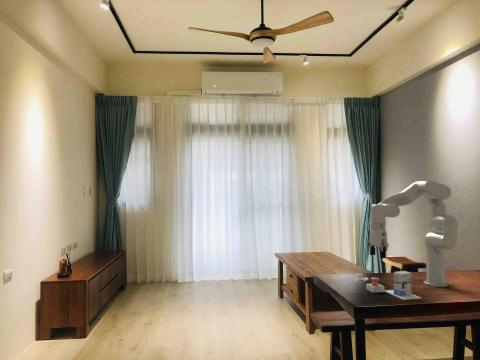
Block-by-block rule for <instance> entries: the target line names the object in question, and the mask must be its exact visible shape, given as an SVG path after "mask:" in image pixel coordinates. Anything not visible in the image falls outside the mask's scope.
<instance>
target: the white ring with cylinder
mask: <svg viewBox="0 0 480 360" xmlns="http://www.w3.org/2000/svg"><path fill="white" fill-rule="evenodd" d="M354 276H355V278H353V281H355V282H359V283H361V282H362V283H364V282H367V281H369V278H368V277H363V273H362V274H361V273H357V274H355V275H354ZM354 279H355V280H354Z"/></svg>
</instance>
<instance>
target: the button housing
mask: <svg viewBox="0 0 480 360" xmlns="http://www.w3.org/2000/svg"><path fill="white" fill-rule="evenodd" d="M365 289H366V291H370V292H371V293H374V292H375V293H385V286H384V285H382V284H379V283H378V286H372V283H366V284H365Z"/></svg>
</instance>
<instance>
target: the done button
mask: <svg viewBox="0 0 480 360" xmlns="http://www.w3.org/2000/svg"><path fill="white" fill-rule="evenodd" d="M370 280H371V284H372V286H378V284H379V281H380V278H379V277H373V276H372V277H370Z"/></svg>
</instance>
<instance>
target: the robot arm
mask: <svg viewBox="0 0 480 360" xmlns="http://www.w3.org/2000/svg"><path fill="white" fill-rule="evenodd" d="M422 196H423V197H424V199H425V200H426V201H427V202H428V205H429V215H428V226H429V227H430V229H432V230H435V231H429V232H426V234H425V235H424V244H425V250H426V279H425V280H424V281H423V283H424V285H426V286H429V287H430V286H431V287H437V288H445V287H448V282H451V281H452V278H451V277H446V276H445V253H444V250H446V251H452V250H453V249H455V248H456V246H457V242H458V241H457V240H458V228H459V227H458V226H459V223H458V220H457V218H456V217H455V216H453V215H451V214H450V215H449V214H446V210H447V209H446V203H445V201H444V200H448V199H449V198H450V197H451V196H452V190H451V188H450V186H448V185H446V184H443V183H439V182H436V181H432V180H417V181H414V182H412V183H411V184H409V185H408V186H407V187H405V188H404V189H403V190H402V191H400V192H397V193H395V194H392V195H390V196H388V197H386V198H385V199H382V200H381V201H380V202H379V203H377V204H376V203H375V204H372V205H371V213H370V218H371V219H370V232H369V233H370V234H369V238H368V239H367V242H368V247H369V256H376V247H377V248H379V249H380V252H379V253H380V254H379V255H380V256H379V257H380V259H386V258H387V251H388V247H389V246H390V245H389V243H388V234H387V229H386V218H397V217H398V216H400V214H401V209H400V207H403V206H408V205H411V204H412V203H413V202H415V201H416V200H418V199H419V198H420V197H422ZM440 231H443V232H440Z"/></svg>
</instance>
